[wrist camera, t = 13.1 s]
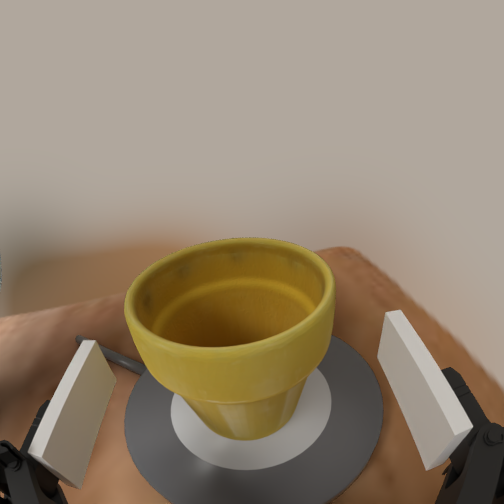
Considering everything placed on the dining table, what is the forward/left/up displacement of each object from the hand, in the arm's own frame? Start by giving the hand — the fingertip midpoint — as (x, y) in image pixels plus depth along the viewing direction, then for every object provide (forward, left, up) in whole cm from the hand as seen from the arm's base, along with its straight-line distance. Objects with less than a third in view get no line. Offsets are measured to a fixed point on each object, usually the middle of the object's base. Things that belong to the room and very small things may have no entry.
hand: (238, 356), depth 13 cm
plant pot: (-2, +3, -8) cm, 8 cm away
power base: (-7, +3, -9) cm, 12 cm away
